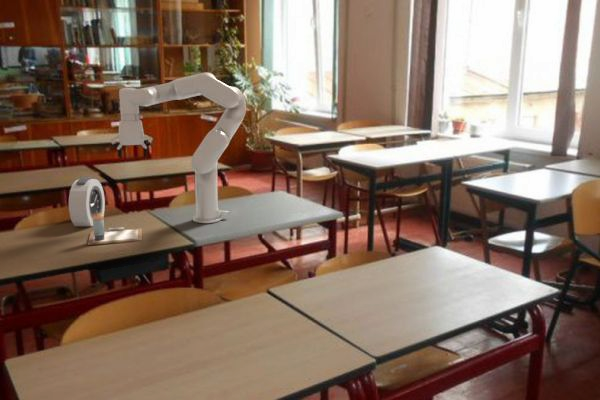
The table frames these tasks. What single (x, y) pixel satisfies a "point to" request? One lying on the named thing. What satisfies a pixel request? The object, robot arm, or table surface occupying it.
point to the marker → (98, 226)
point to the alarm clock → (85, 201)
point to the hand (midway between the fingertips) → (132, 158)
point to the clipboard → (117, 236)
